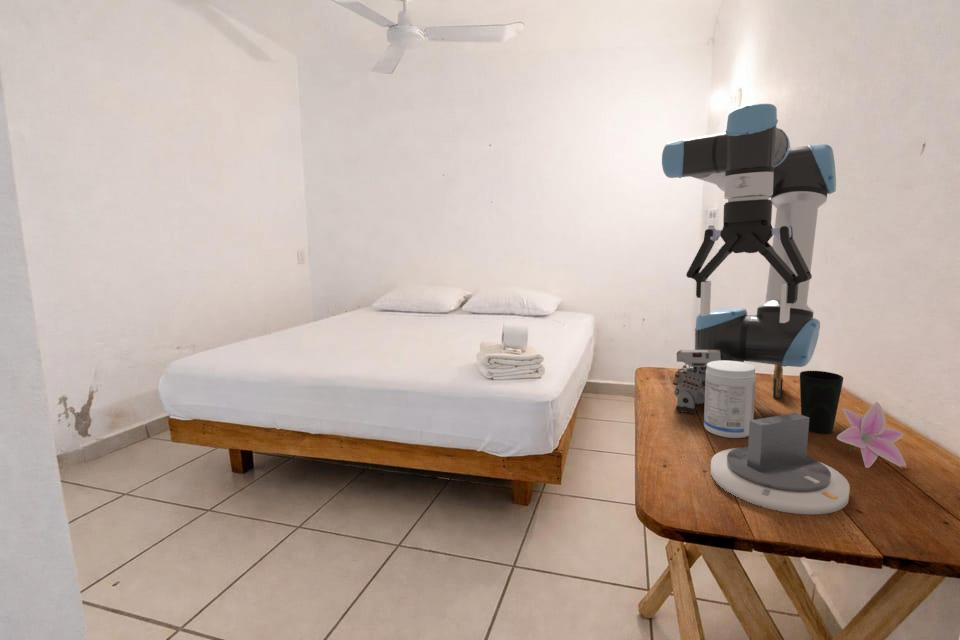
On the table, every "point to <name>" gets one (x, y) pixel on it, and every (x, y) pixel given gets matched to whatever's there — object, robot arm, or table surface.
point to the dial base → (782, 491)
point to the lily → (872, 436)
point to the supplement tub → (729, 398)
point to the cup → (820, 399)
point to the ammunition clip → (778, 382)
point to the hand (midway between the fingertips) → (742, 318)
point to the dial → (779, 456)
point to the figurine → (692, 377)
